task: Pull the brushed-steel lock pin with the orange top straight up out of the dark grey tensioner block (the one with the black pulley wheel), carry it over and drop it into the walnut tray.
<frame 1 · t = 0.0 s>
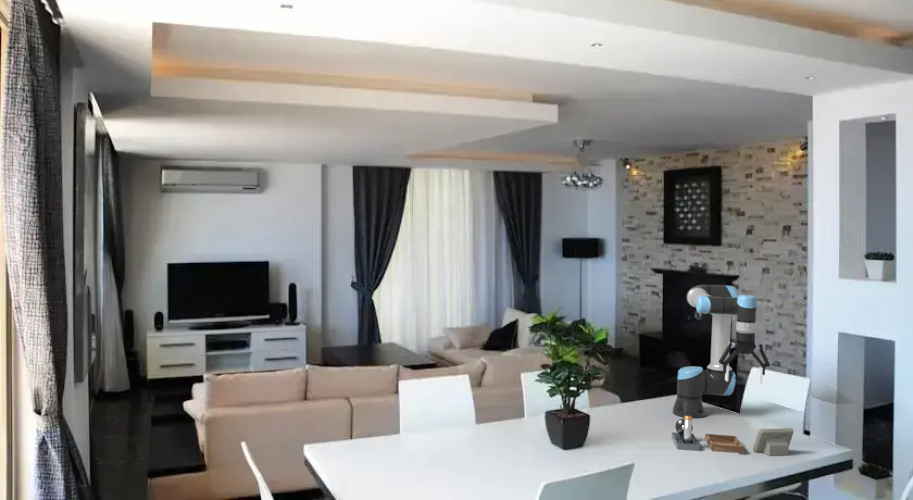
hand: (743, 381, 302), 28 cm above the table, fingers open, 13 cm apart
tensioner block: (685, 445, 303), on the table
digital clock: (772, 453, 297), on the table
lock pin: (687, 447, 299), resting on tensioner block
walnut tray: (723, 447, 302), on the table
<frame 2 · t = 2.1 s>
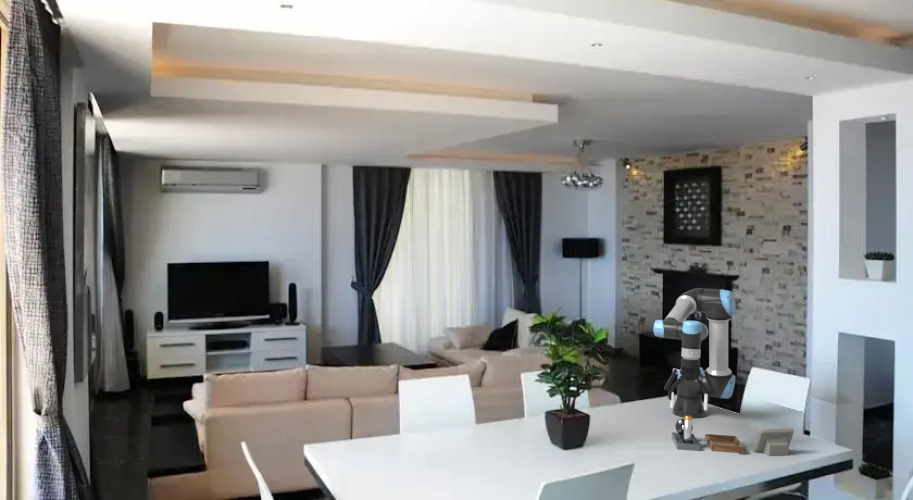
hand: (688, 408, 298), 17 cm above the table, fingers open, 13 cm apart
nothing on the table moved.
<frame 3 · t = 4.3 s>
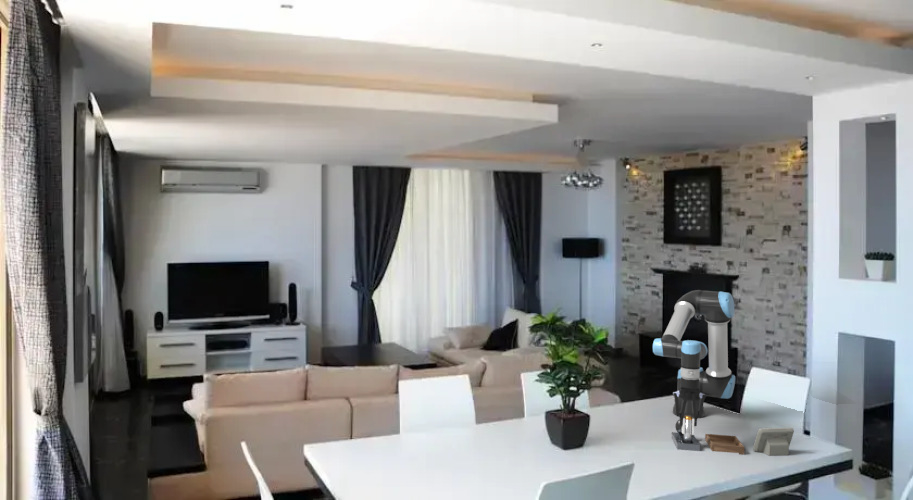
hand: (687, 433, 299), 7 cm above the table, fingers closed on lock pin, 3 cm apart
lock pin: (687, 447, 299), point 1 cm above the table, touching gripper
everything else where it was.
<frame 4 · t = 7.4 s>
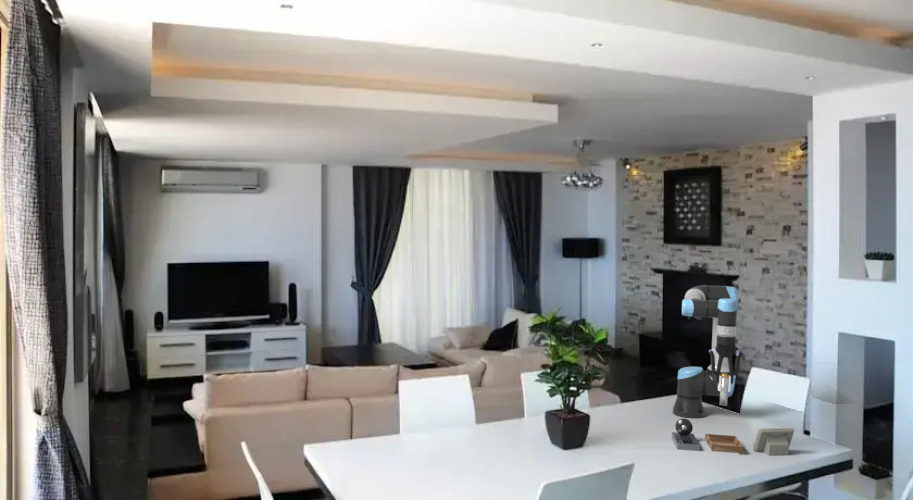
hand: (723, 390, 301), 24 cm above the table, fingers closed on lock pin, 3 cm apart
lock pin: (723, 404, 301), point 18 cm above the table, touching gripper
everything else where it was.
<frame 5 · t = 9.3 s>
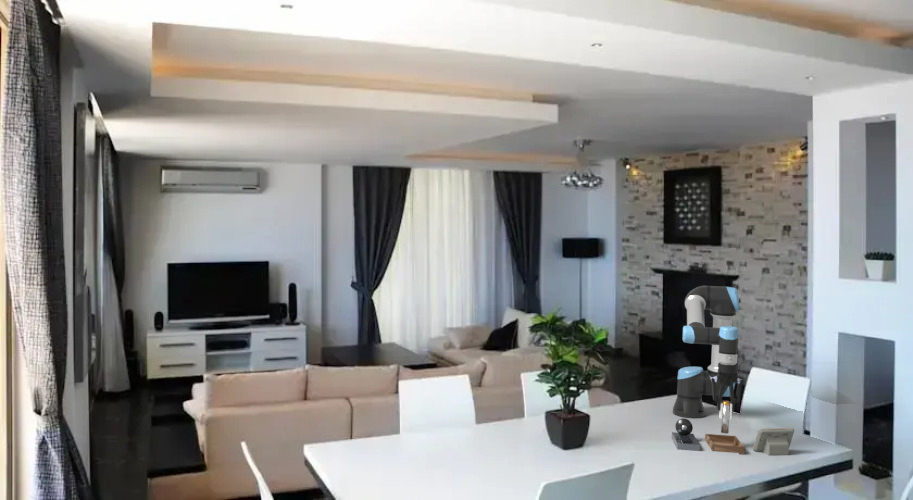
hand: (725, 418, 301), 13 cm above the table, fingers closed on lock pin, 3 cm apart
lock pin: (724, 432, 301), point 7 cm above the table, touching gripper
everything else where it was.
when the fingers open (8 cm above the table, at t = 10.7 s): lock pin drops 1 cm, resting on walnut tray.
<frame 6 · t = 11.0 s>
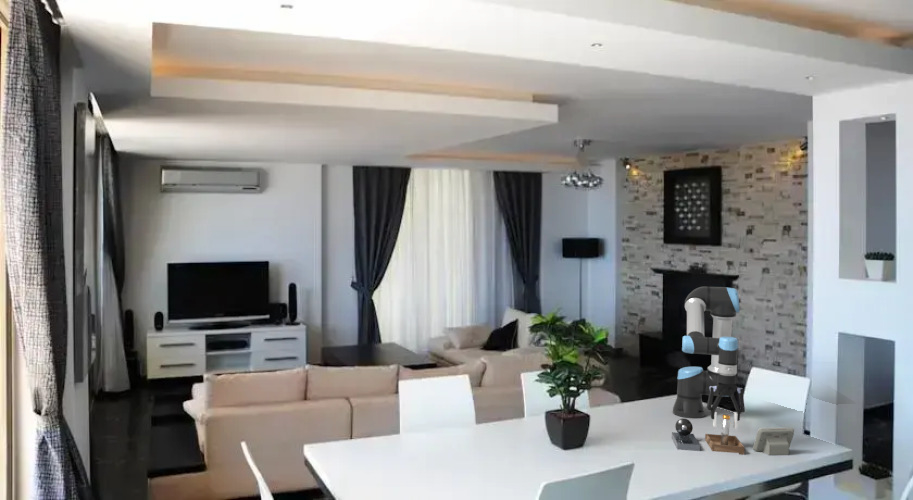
hand: (724, 427, 301), 9 cm above the table, fingers open, 8 cm apart
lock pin: (724, 445, 302), point 1 cm above the table, touching walnut tray
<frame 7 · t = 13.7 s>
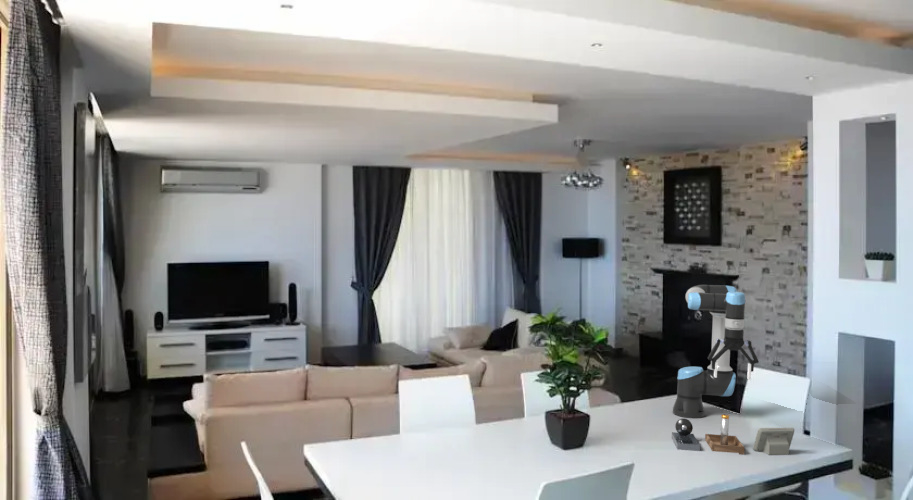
hand: (731, 378, 303), 29 cm above the table, fingers open, 13 cm apart
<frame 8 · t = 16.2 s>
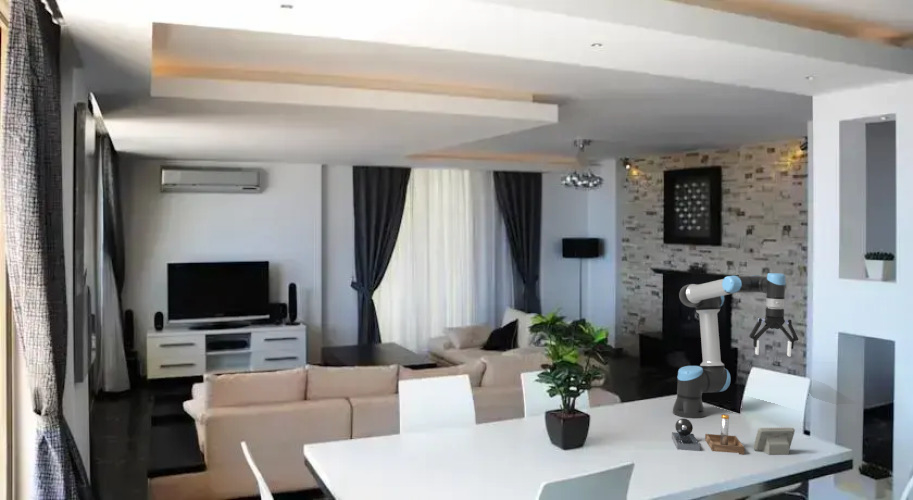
hand: (772, 355, 318), 37 cm above the table, fingers open, 13 cm apart
at the end: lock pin inside the target area on the walnut tray (0.0 cm from its centre), point 0.6 cm above the walnut tray's base; the gripper is holding nothing; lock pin moved 16.9 cm from its start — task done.
